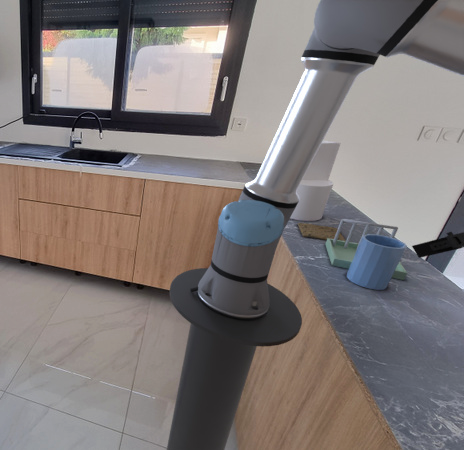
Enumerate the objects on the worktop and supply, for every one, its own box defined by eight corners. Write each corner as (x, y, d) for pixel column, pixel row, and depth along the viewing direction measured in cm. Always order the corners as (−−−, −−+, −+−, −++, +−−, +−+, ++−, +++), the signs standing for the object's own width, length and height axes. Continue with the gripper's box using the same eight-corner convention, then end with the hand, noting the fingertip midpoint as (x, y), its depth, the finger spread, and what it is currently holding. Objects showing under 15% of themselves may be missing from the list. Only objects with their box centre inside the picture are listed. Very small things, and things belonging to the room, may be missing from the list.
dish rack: (331, 265, 90) (344, 233, 86) (325, 244, 102) (335, 215, 98) (403, 280, 83) (421, 246, 79) (387, 255, 94) (402, 225, 90)
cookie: (347, 243, 102) (348, 240, 101) (302, 236, 107) (303, 234, 107) (337, 229, 112) (338, 227, 111) (297, 223, 117) (297, 221, 116)
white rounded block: (262, 205, 136) (279, 140, 124) (303, 205, 135) (323, 139, 123) (286, 220, 120) (308, 147, 108) (332, 220, 119) (360, 147, 108)
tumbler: (349, 284, 82) (366, 243, 77) (344, 270, 88) (359, 231, 83) (390, 293, 78) (411, 251, 73) (382, 278, 84) (401, 238, 79)
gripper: (574, 238, 45) (405, 271, 64) (678, 221, 49) (492, 257, 69) (538, 192, 47) (386, 238, 67) (640, 180, 52) (471, 226, 72)
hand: (440, 248), depth 68 cm, fingers open, 13 cm apart
